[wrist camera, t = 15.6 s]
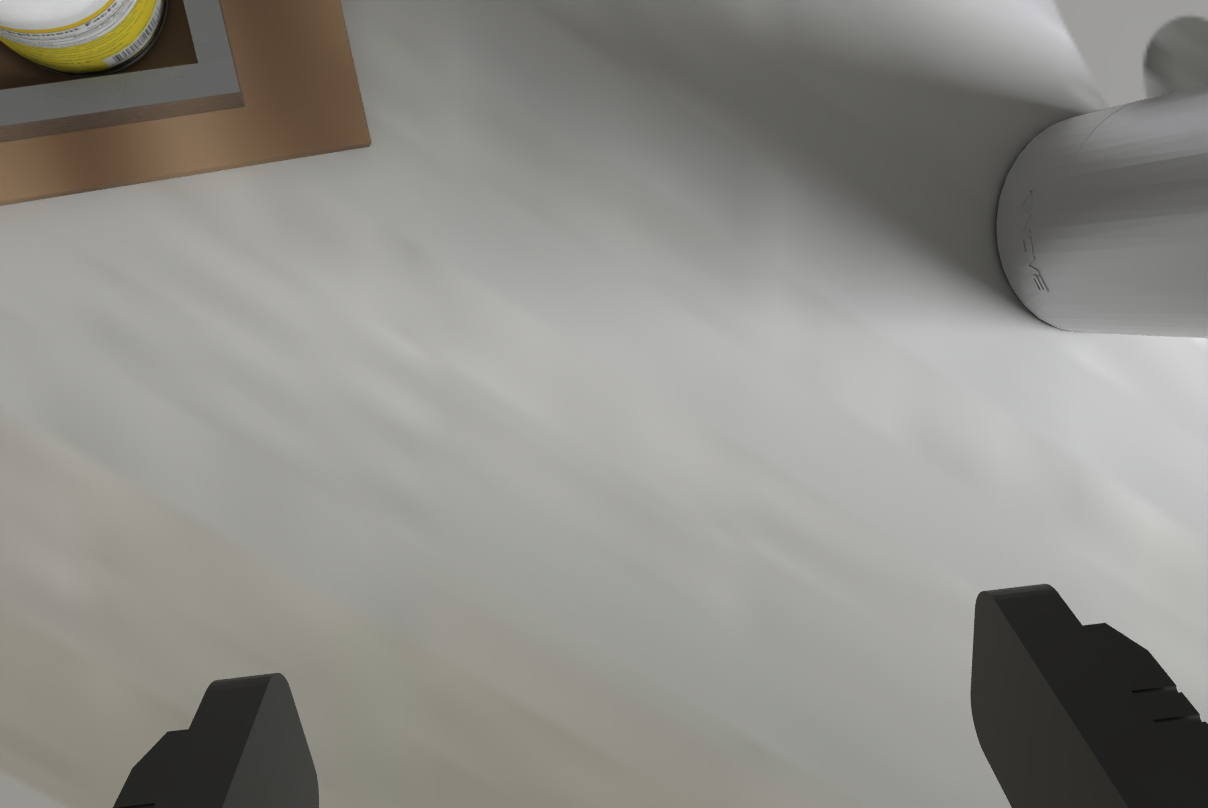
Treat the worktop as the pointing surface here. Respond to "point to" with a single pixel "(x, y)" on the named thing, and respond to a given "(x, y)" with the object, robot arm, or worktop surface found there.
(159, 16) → the supplement bottle
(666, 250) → the worktop surface
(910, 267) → the worktop surface
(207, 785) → the robot arm
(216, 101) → the collar
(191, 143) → the holder plate
